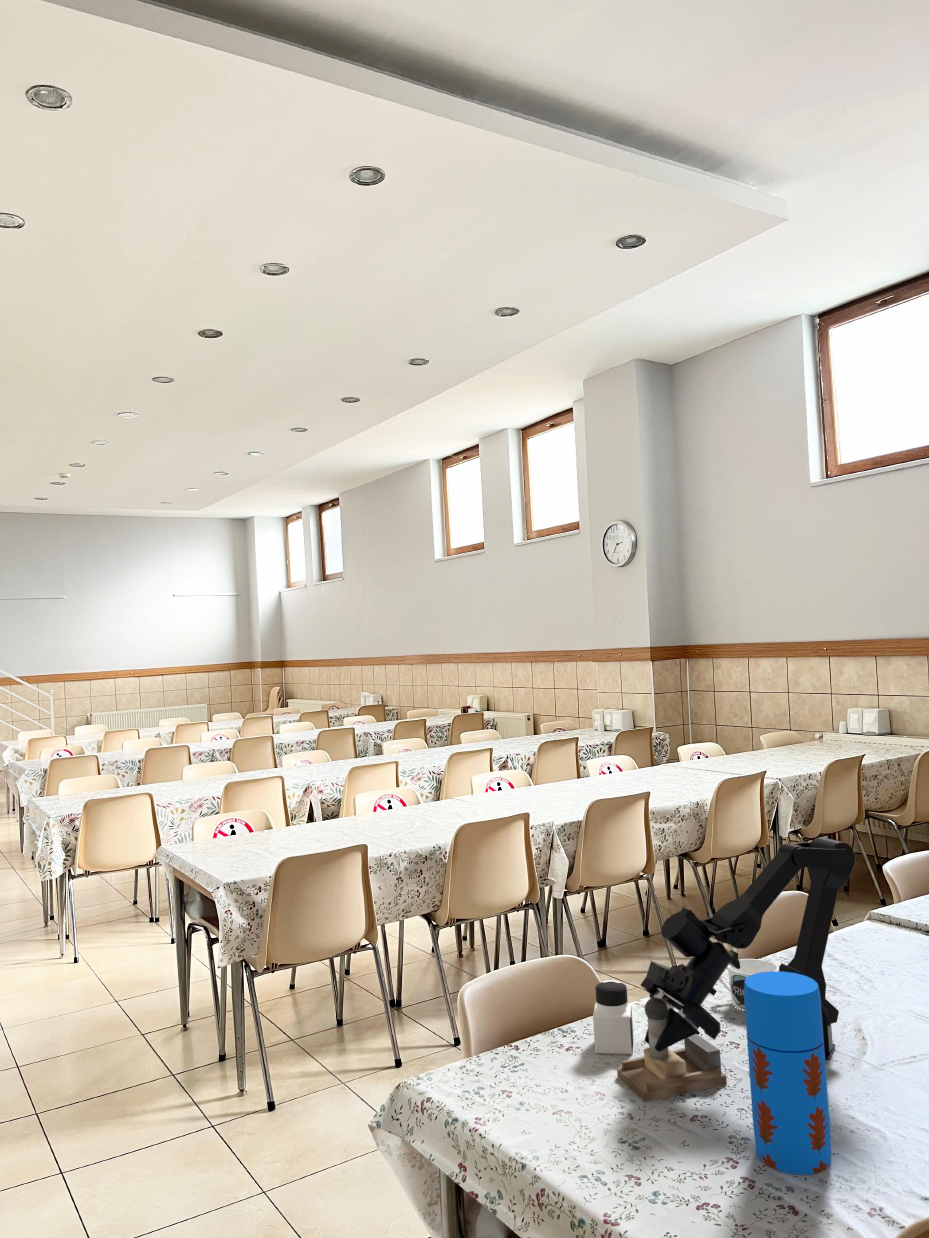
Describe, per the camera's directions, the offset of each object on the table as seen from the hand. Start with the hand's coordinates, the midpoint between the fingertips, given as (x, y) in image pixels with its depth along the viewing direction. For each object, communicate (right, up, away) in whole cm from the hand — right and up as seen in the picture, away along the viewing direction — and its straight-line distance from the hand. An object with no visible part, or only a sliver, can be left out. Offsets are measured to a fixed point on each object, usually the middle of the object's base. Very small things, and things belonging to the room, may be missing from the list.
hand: (651, 1045), depth 159 cm
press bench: (+3, -6, 0) cm, 7 cm away
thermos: (+16, -4, -25) cm, 30 cm away
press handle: (+2, -5, 0) cm, 5 cm away
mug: (+28, -7, +34) cm, 44 cm away
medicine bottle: (-4, -8, +16) cm, 18 cm away
